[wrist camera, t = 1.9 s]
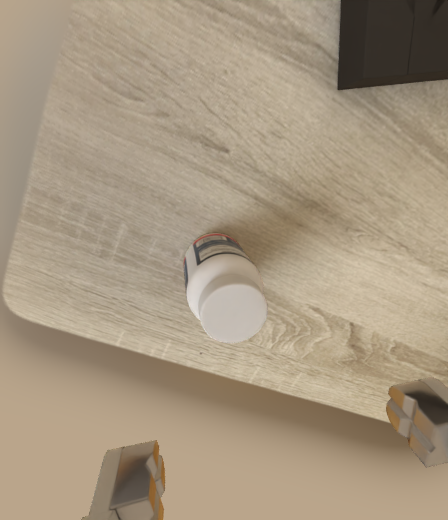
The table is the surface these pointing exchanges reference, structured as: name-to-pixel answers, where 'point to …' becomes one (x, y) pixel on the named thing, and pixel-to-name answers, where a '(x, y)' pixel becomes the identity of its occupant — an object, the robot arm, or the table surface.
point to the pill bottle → (224, 288)
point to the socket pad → (392, 42)
